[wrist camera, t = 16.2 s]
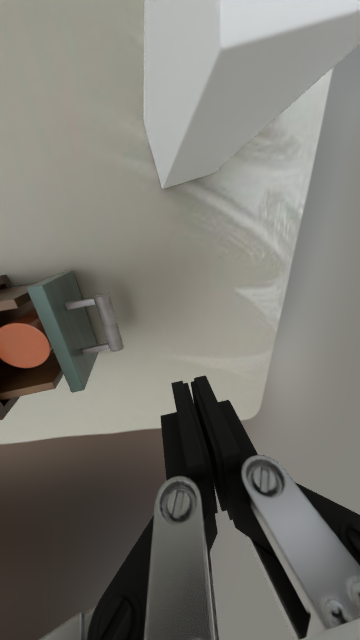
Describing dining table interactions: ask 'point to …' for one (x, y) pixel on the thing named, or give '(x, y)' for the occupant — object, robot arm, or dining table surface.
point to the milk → (231, 72)
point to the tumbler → (24, 341)
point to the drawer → (57, 334)
